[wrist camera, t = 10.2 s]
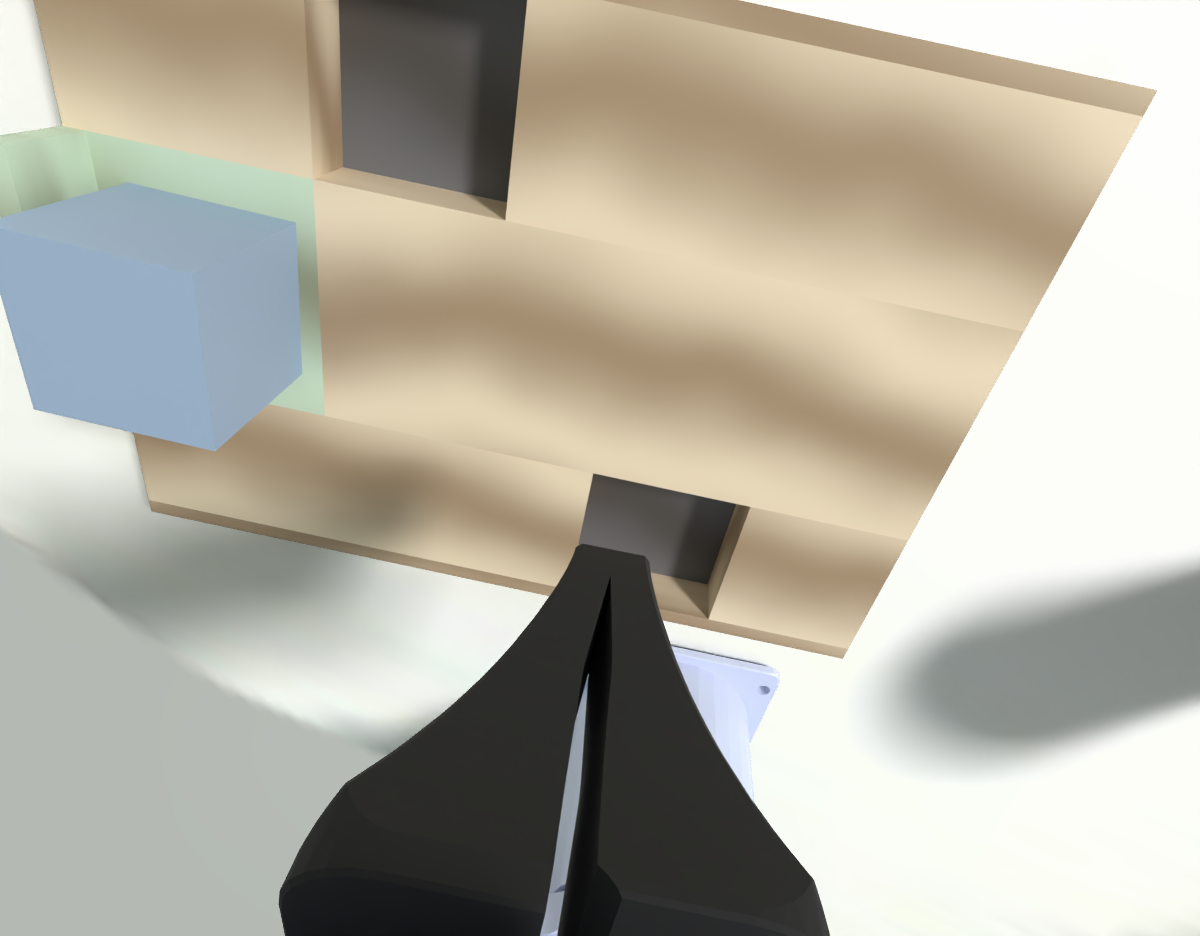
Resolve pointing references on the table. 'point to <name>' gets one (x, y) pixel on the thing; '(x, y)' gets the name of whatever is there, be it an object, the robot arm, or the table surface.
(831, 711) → the table surface
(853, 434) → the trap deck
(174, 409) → the block
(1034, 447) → the table surface
